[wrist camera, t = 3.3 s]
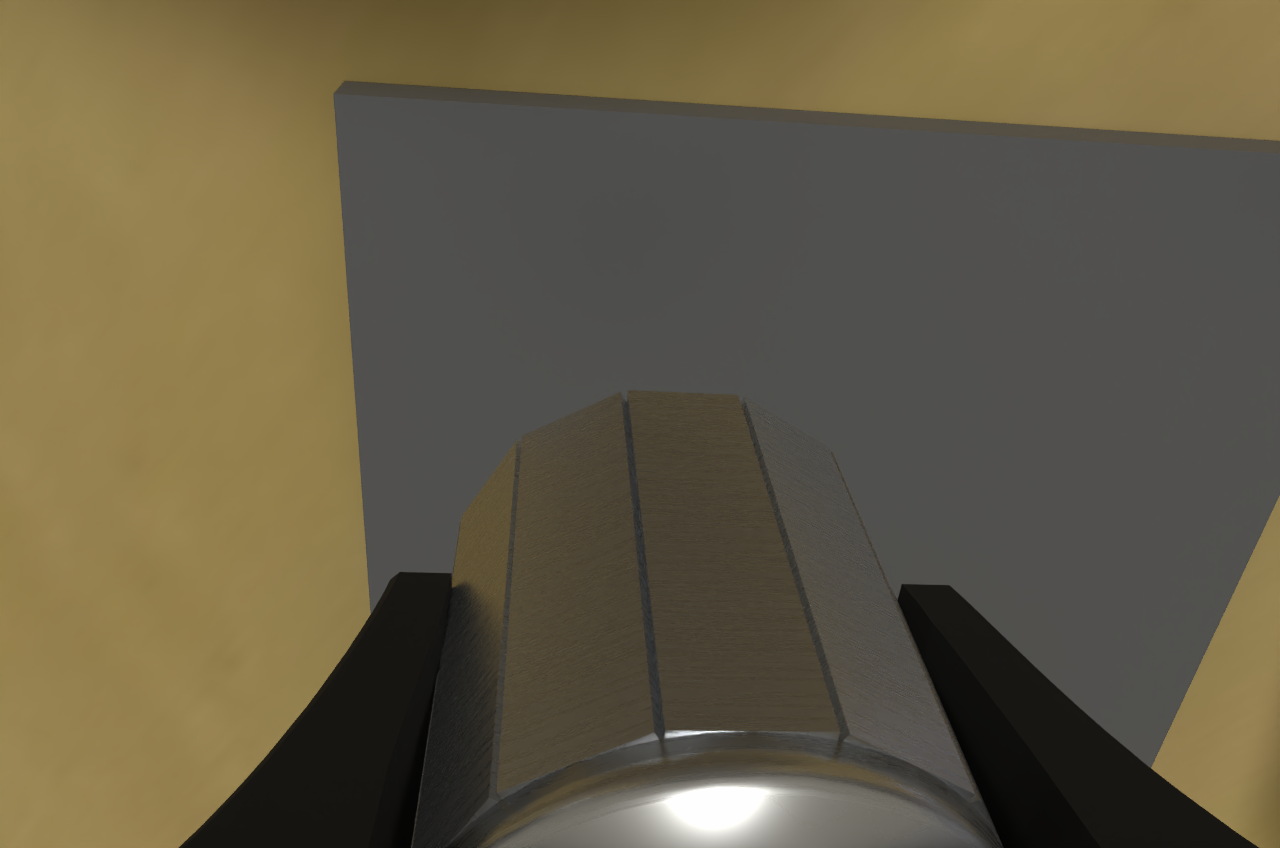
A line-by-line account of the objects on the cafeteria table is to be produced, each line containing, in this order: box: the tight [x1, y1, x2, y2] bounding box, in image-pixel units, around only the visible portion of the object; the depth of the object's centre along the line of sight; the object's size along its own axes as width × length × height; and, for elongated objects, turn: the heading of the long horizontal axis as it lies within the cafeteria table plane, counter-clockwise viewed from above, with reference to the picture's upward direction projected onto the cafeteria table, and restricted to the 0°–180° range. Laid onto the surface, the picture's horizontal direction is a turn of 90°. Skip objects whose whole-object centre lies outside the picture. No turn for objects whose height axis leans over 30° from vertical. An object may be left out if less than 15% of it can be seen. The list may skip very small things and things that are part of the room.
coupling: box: [411, 390, 1003, 848], centre depth 11 cm, size 5×5×6 cm
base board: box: [334, 81, 1280, 768], centre depth 23 cm, size 20×20×1 cm
